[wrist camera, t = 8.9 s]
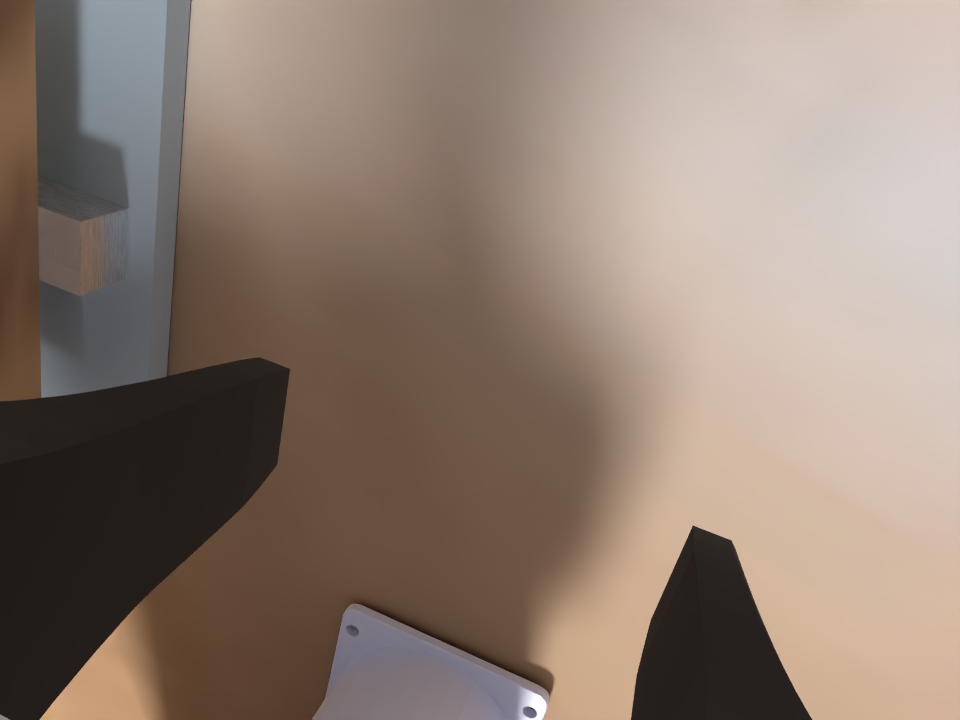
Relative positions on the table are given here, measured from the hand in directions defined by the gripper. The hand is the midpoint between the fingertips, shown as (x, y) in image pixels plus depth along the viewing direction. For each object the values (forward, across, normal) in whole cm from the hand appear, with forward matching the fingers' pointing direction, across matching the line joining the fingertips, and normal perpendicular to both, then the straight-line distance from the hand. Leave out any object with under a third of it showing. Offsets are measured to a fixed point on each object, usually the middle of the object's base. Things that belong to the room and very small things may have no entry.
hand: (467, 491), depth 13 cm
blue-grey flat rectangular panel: (+10, +18, +3) cm, 21 cm away
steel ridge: (+10, +18, +3) cm, 21 cm away
